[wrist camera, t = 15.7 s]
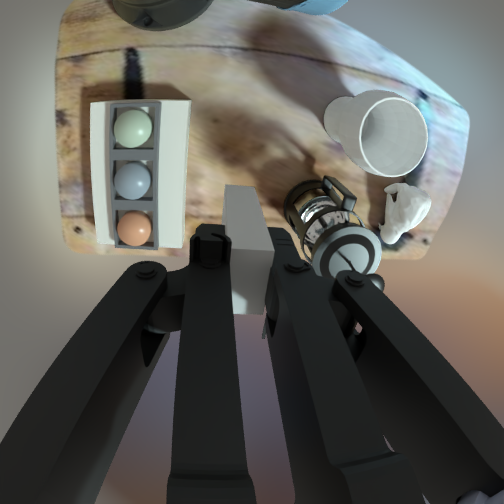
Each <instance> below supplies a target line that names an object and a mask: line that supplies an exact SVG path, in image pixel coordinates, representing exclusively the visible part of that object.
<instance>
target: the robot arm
mask: <svg viewBox="0 0 504 504" xmlns="http://www.w3.org/2000/svg"><path fill="white" fill-rule="evenodd" d="M249 1H254V2H259V3H264V4H269V5H273V6H276V7H277V8H278V9H281V10H293V11H298V12H302V13H306V14H310V15H323V14H329V13H331V12H333V11H335V10H337V9H338V8H340V7H341V6H342V5H344V4H345V3H346V2H347V1H348V0H249ZM112 2H113V6H114V8H115V10H116V12H117V13H118V14H119V16H120V17H121V18H122V19H123V20H125V21H126V22H128V23H129V24H131V25H133V26H135V27H137V28H140V29H143V30H148V31H165V30H171V29H175V28H178V27H181V26H183V25H185V24H188V23H189V22H191V21H193V20H194V19H196V18H197V17H199V16H200V15H201V14H202V13H203V12H204V11H205V10H206V9H207V8H208V7H209V6H210V5H211V3H212V2H213V0H112ZM189 259H190V261H189V265H188V266H186V267H184V268H182V269H180V270H176V271H170V272H167V270H166V268H165V267H164V266H163V265H162V264H160V263H157V262H154V261H141V262H138V263H135V264H133V265H131V266H130V267H129V268H128V269H127V270H126V271H125V272H124V273H123V274H122V276H121V277H120V278H119V279H118V280H117V281H116V283H115V284H114V285H113V286H112V287H111V289H110V290H109V291H108V292H107V294H106V295H105V296H104V297H103V298H102V300H101V301H100V302H99V303H98V305H97V306H96V307H95V308H94V309H93V311H92V312H91V313H90V315H89V316H88V317H87V318H86V320H85V321H84V322H83V323H82V325H81V326H80V327H79V329H78V330H77V331H76V333H75V334H74V335H73V336H72V338H71V339H70V340H69V342H68V343H67V344H66V346H65V347H64V348H63V350H62V351H61V352H60V354H59V355H58V357H57V358H56V359H55V361H54V362H53V363H52V365H51V366H50V368H49V369H48V371H47V372H46V373H45V375H44V376H43V378H42V379H41V381H40V382H39V383H38V385H37V386H36V388H35V389H34V391H33V392H32V394H31V395H30V397H29V398H28V400H27V402H26V403H25V404H24V406H23V408H22V409H21V411H20V412H19V414H18V415H17V417H16V418H15V420H14V422H13V423H12V425H11V427H10V428H9V430H8V432H7V433H6V435H5V437H4V438H3V440H2V442H1V443H0V504H94V503H95V501H96V498H97V496H98V493H99V491H100V488H101V486H102V483H103V481H104V479H105V476H106V474H107V472H108V469H109V467H110V464H111V463H112V460H113V458H114V456H115V453H116V451H117V449H118V446H119V444H120V442H121V440H122V437H123V435H124V433H125V431H126V428H127V426H128V424H129V422H130V420H131V417H132V415H133V413H134V411H135V409H136V407H137V404H138V402H139V400H140V398H141V396H142V394H143V391H144V389H145V387H146V385H147V383H148V381H149V378H150V377H151V374H152V372H153V370H154V368H155V366H156V364H157V362H158V360H159V358H160V356H161V353H162V351H163V349H164V347H165V345H166V343H167V341H168V339H169V337H170V332H174V331H179V330H181V334H180V344H179V354H178V365H177V377H176V388H175V402H174V417H173V435H172V457H171V472H170V475H169V477H168V483H167V504H256V496H255V490H254V485H253V482H252V479H251V477H250V475H249V473H248V468H247V460H246V451H245V441H244V431H243V420H242V412H241V401H240V400H241V399H240V389H239V377H238V366H237V354H236V341H235V329H234V316H233V314H263V312H264V307H265V305H266V311H267V313H266V318H265V324H264V329H263V333H262V339H265V335H266V334H267V338H268V345H269V351H270V356H271V362H272V367H273V373H274V378H275V384H276V389H277V395H278V401H279V406H280V412H281V417H282V423H283V429H284V434H285V439H286V445H287V451H288V456H289V462H290V467H291V473H292V479H293V484H294V490H295V503H294V504H426V503H425V501H424V498H423V495H424V496H425V498H426V499H427V500H428V501H429V503H430V504H504V428H503V427H502V426H501V424H500V423H499V422H498V421H497V419H496V418H495V417H494V416H493V414H492V413H491V412H490V411H489V409H488V408H487V407H486V406H485V404H484V403H483V402H482V401H481V400H480V399H479V397H478V396H477V395H476V394H475V392H473V390H472V389H471V388H470V386H469V385H468V384H467V383H466V382H465V381H464V380H463V378H462V377H461V376H460V375H459V374H458V373H457V371H456V370H455V369H454V368H453V367H452V366H451V365H450V363H449V362H448V361H447V360H446V359H445V358H444V357H443V356H442V354H440V352H439V351H438V350H437V349H436V348H435V347H434V346H433V345H432V343H431V342H430V341H429V340H428V339H427V338H426V337H425V336H424V335H423V334H422V333H421V332H420V330H418V328H417V327H416V326H415V325H414V324H413V323H412V322H411V321H410V320H409V319H408V318H407V317H406V316H405V315H404V314H403V313H402V312H401V311H400V310H399V308H398V307H397V306H395V304H394V303H393V302H392V301H391V300H390V299H389V298H388V297H387V296H386V295H385V294H384V293H383V292H382V291H381V290H380V289H379V288H378V287H377V286H376V285H375V284H374V283H373V282H372V281H371V280H370V279H369V278H368V277H366V276H365V275H364V274H361V273H359V272H358V271H354V270H342V271H339V272H338V273H337V274H336V277H335V280H334V279H330V278H325V277H322V276H318V275H316V273H315V270H314V268H313V267H312V266H311V264H309V263H308V262H307V261H305V260H302V259H301V258H300V256H299V254H298V251H297V249H296V247H295V244H294V242H293V241H292V238H291V235H290V233H288V232H287V231H286V230H285V229H283V228H276V227H267V225H266V222H265V219H264V215H263V212H262V209H261V206H260V203H259V200H258V197H257V194H256V191H255V187H251V186H238V185H225V191H224V202H223V214H222V225H218V224H201V225H200V226H198V227H197V228H196V232H195V234H194V235H193V236H192V237H191V238H190V258H189ZM357 322H358V323H359V324H360V325H361V326H362V331H361V332H360V333H358V332H357V331H356V329H355V327H356V325H357ZM383 435H384V436H385V438H386V439H387V441H388V442H389V444H390V445H391V447H392V448H393V450H394V451H395V452H392V451H391V450H390V449H389V448H388V446H387V444H386V441H385V439H384V436H383ZM422 494H423V495H422Z"/></svg>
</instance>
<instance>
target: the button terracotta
mask: <svg viewBox="0 0 504 504" xmlns="http://www.w3.org/2000/svg"><path fill="white" fill-rule="evenodd" d="M151 231H152V221H151V219H150V217H149V216H148V215H147V214H146V213H145V212H143V211H140V210H130V211H128V212H126V213H125V214H124V215H123V217H122V218H121V220H120V221H119V223H118V226H117V232H118V235H119V237H120V239H121V240H122V241H123V242H124V243H126V244H128V245H131V246H140V245H142V244H144V243H145V242H146V241H147V240H148V238H149V236H150V233H151Z"/></svg>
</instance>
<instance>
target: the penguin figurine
mask: <svg viewBox="0 0 504 504" xmlns="http://www.w3.org/2000/svg"><path fill="white" fill-rule="evenodd" d="M384 191H385V192H386V193H388V194H387V199H386V209H385V224H384V225H382V226H381V225H380V224H379V226H380V227H378V228H379V229H381V232H380V235H381V238H382V240H383V241H384V242H386V243H387V244H393V243H395V242H396V241H397V240H398V239H399V237H400V236H401V234H402V233H403V232H407V231H408V230H409V229H412V228H414V227H415V226H416V225H418V224H419V223H420V222H421V221H422V220H423V218H424V217H425V216H426V214H427V212H428V211H429V209H430V206H431V198H430V196H429V194H428V193H426V191H424V190H421V189H418V188H416V187H415V186H409V185H408V184H406V183H394V184H392V185H389V186H387V187H386V188H385V189H384ZM396 192H398V194H397V198H396V199H397V201H395V203H394V202H393V199H392V196H391V194H394V193H396ZM389 193H390V194H389ZM378 223H379V222H378Z"/></svg>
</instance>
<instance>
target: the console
mask: <svg viewBox="0 0 504 504" xmlns="http://www.w3.org/2000/svg"><path fill="white" fill-rule="evenodd" d="M191 104H192V100H179V99H135V100H110V101H98V102H93V103H91V107H90V157H91V180H92V194H93V206H94V217H95V226H96V234H97V242H98V244H115V248H130V249H147V250H158V247H169V248H182V245H183V240H184V230H185V196H186V174H187V156H188V141H189V127H190V115H191ZM134 109H140V110H143V111H145V112H147V113H148V114H149V115H150V117H151V118H152V121H153V132H152V134H151V136H150V138H149V139H148V140H147V141H146V142H144V143H143V144H141V145H140V146H138V147H134V148H128V147H125V146H123V145H121V144H120V143H119V142H118V141H117V140H116V138H115V135H114V125H115V122H116V120H117V118H118V117H119V116H120V115H121V114H123V113H124V112H127V111H130V110H134ZM131 161H139V162H142V163H143V164H145V165H146V166H147V167H148V168H149V170H150V172H151V175H152V182H151V185H150V187H149V189H148V190H147V192H146V193H145V194H144V195H143V196H142V197H140V198H138V199H135V200H130V199H126V198H124V197H122V196H121V195H120V194H119V193H118V192H117V190H116V188H115V184H114V179H115V175H116V173H117V171H118V170H119V169H120V168H121V167H122V166H124V165H125V164H126V163H128V162H131ZM130 210H140V211H143V212H145V213H146V214H147V215H148V216H149V217H150V219H151V221H152V231H151V233H150V236H149V238H148V240H147V241H146V242H145V243H144V244H142V245H140V246H131V245H128V244H126V243H124V242H123V241H122V240H121V239H120V237H119V235H118V232H117V226H118V223H119V221H120V220H121V218H122V217H123V215H124V214H125V213H126V212H128V211H130Z"/></svg>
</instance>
